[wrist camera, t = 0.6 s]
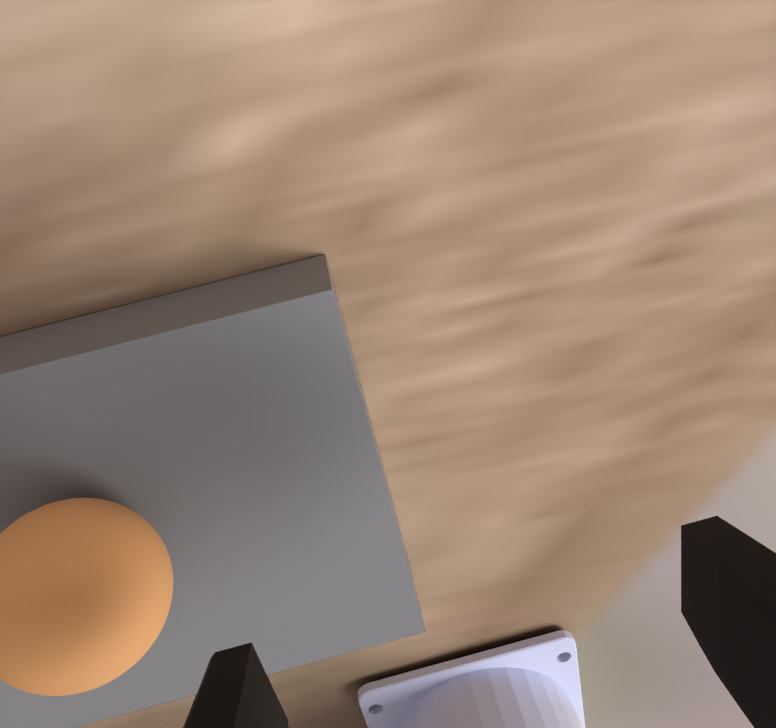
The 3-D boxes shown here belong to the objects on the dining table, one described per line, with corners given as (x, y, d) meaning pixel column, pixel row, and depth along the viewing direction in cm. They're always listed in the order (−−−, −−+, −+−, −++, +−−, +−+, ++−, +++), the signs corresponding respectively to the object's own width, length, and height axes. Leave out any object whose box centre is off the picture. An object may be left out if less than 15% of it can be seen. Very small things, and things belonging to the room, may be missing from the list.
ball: (206, 566, 17) (187, 708, 13) (54, 607, 17) (-6, 761, 13) (147, 442, 15) (107, 570, 12) (-24, 487, 15) (-119, 630, 11)
